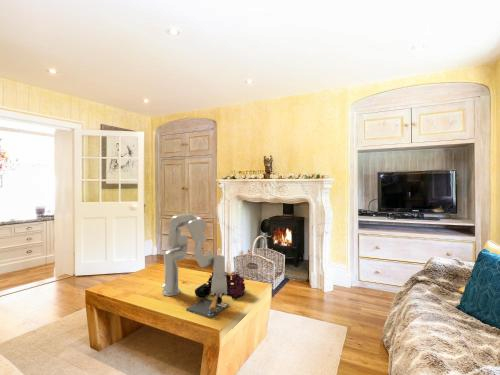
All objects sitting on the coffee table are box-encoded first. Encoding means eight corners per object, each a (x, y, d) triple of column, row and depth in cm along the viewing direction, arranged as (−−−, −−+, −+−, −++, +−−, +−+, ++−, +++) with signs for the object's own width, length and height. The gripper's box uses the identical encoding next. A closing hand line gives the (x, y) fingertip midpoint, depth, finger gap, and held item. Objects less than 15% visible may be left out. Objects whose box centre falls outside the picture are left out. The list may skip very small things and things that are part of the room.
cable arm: (213, 314, 155) (213, 309, 155) (208, 314, 156) (208, 309, 155) (218, 301, 173) (218, 296, 173) (213, 300, 173) (213, 296, 173)
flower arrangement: (202, 291, 190) (203, 271, 191) (217, 283, 208) (218, 265, 208) (239, 301, 176) (240, 279, 177) (251, 291, 194) (252, 271, 194)
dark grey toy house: (203, 291, 192) (203, 282, 192) (211, 292, 189) (210, 283, 189) (194, 297, 183) (194, 287, 183) (202, 298, 180) (202, 289, 180)
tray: (186, 310, 164) (186, 307, 164) (204, 299, 180) (204, 297, 180) (212, 318, 154) (212, 315, 154) (228, 306, 170) (228, 303, 170)
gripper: (231, 272, 171) (231, 300, 171) (208, 273, 171) (209, 300, 171) (230, 276, 164) (230, 305, 164) (206, 277, 164) (206, 305, 164)
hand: (219, 303), depth 168 cm, fingers closed
